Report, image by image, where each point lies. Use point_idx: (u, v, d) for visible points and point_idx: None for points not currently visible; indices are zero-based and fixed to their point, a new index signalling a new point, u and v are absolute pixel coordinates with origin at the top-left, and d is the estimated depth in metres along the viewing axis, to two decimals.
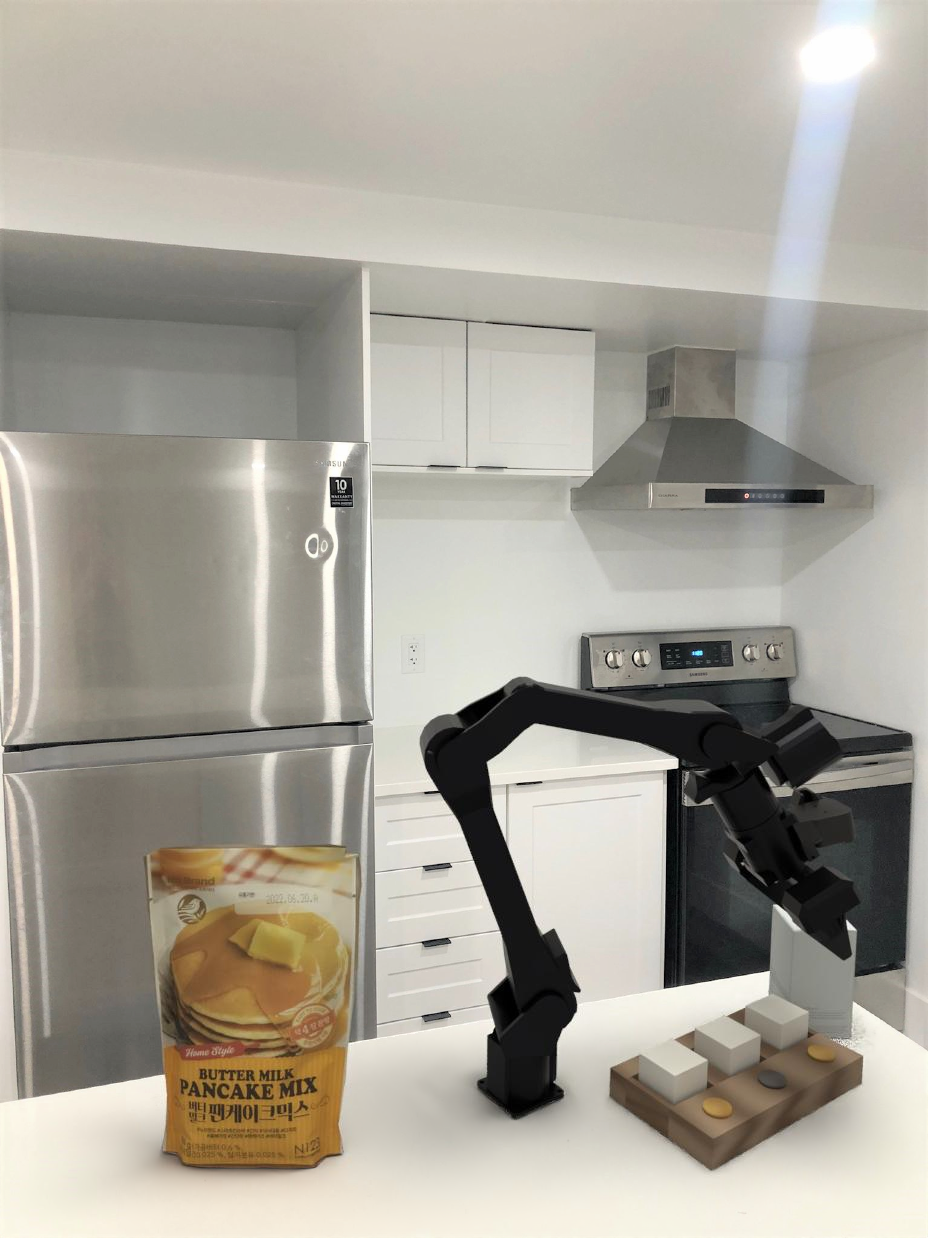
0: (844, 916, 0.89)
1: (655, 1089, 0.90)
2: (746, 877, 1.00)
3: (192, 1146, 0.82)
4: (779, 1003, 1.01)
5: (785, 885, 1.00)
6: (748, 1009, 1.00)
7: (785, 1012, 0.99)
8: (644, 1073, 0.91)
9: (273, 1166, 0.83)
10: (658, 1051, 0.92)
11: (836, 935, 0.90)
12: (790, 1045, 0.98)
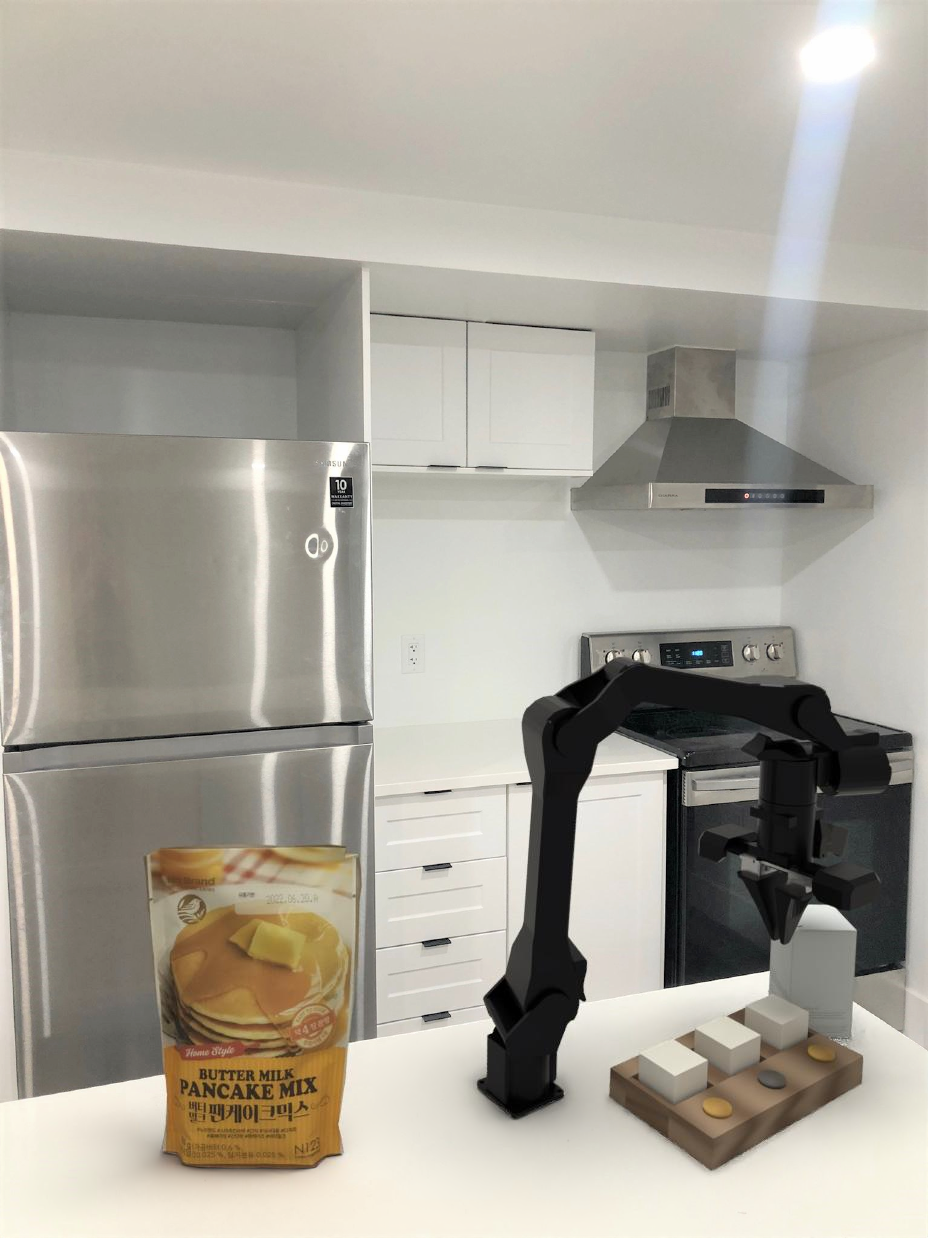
0: (810, 899, 0.98)
1: (655, 1089, 0.90)
2: (754, 879, 0.98)
3: (192, 1146, 0.82)
4: (779, 1003, 1.01)
5: None
6: (748, 1009, 1.00)
7: (785, 1012, 0.99)
8: (644, 1073, 0.91)
9: (273, 1166, 0.83)
10: (658, 1051, 0.92)
11: (795, 916, 0.98)
12: (790, 1045, 0.98)
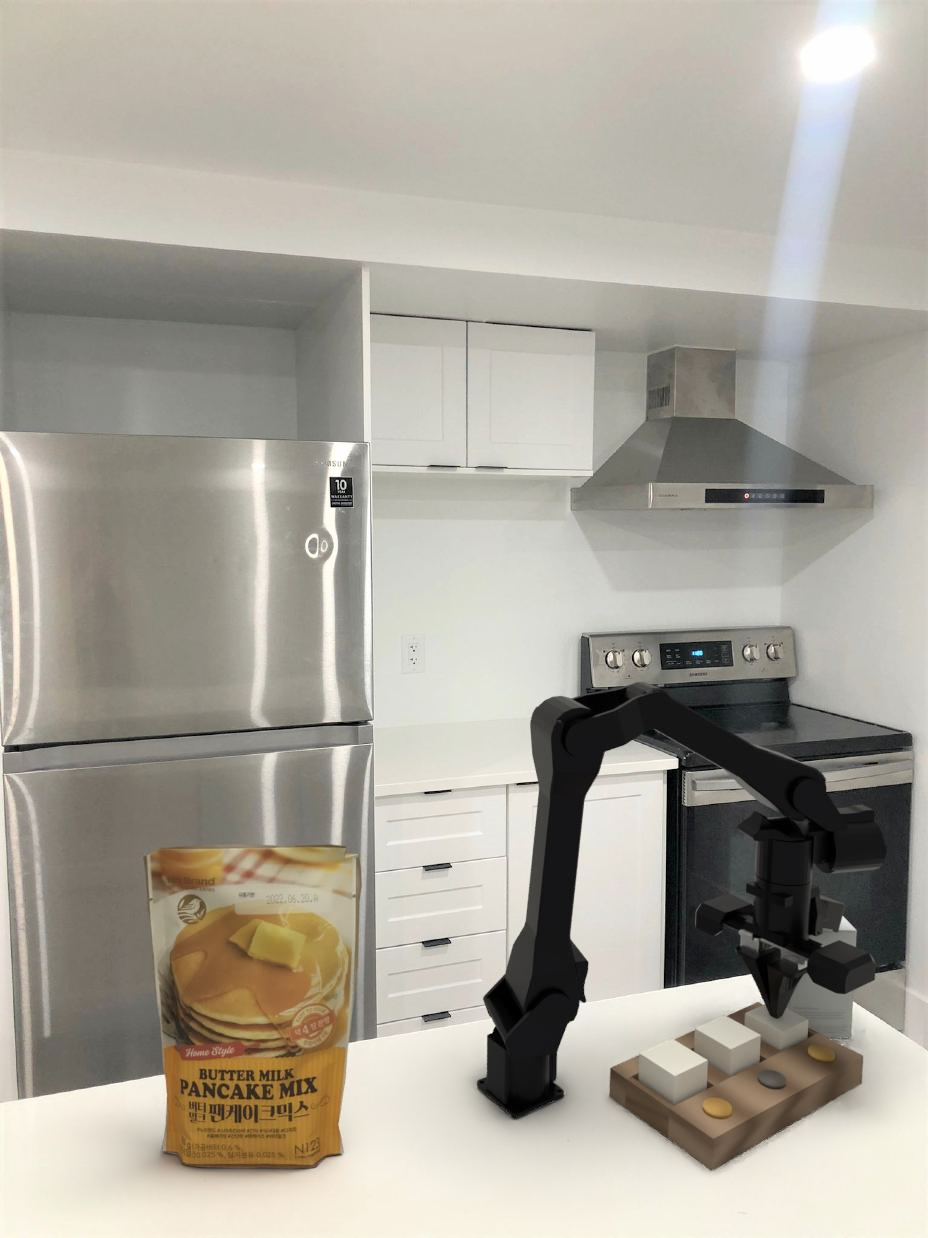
0: (802, 975, 0.99)
1: (655, 1089, 0.90)
2: (753, 957, 0.99)
3: (192, 1146, 0.82)
4: None
5: None
6: (747, 1017, 1.01)
7: (785, 1020, 0.99)
8: (644, 1073, 0.91)
9: (273, 1166, 0.83)
10: (658, 1051, 0.92)
11: (787, 991, 0.99)
12: None
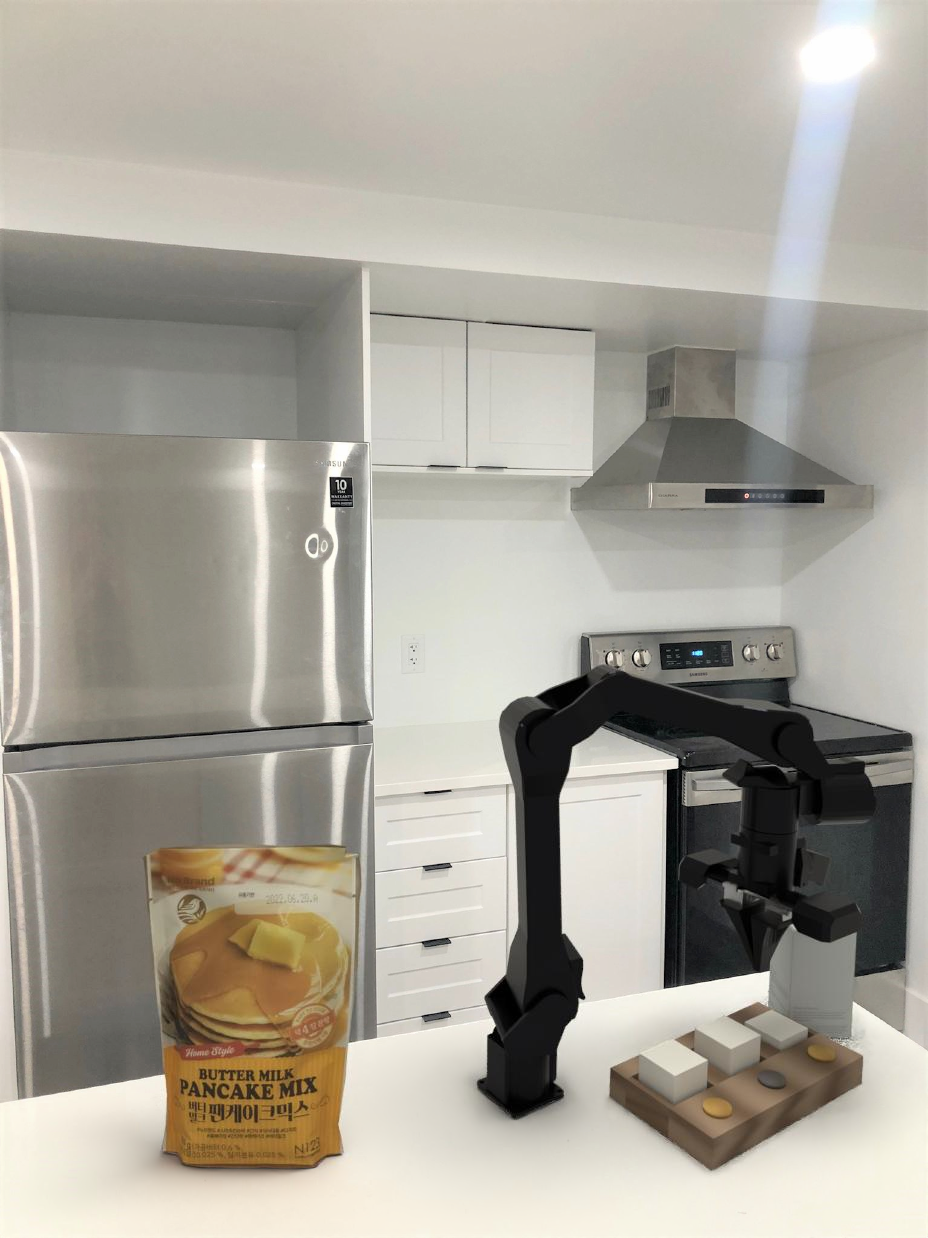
0: (787, 927, 0.97)
1: (655, 1089, 0.90)
2: (737, 908, 0.97)
3: (192, 1146, 0.82)
4: (778, 1019, 1.01)
5: None
6: (747, 1026, 1.01)
7: (784, 1029, 1.00)
8: (644, 1073, 0.91)
9: (273, 1166, 0.83)
10: (658, 1051, 0.92)
11: (771, 944, 0.97)
12: None
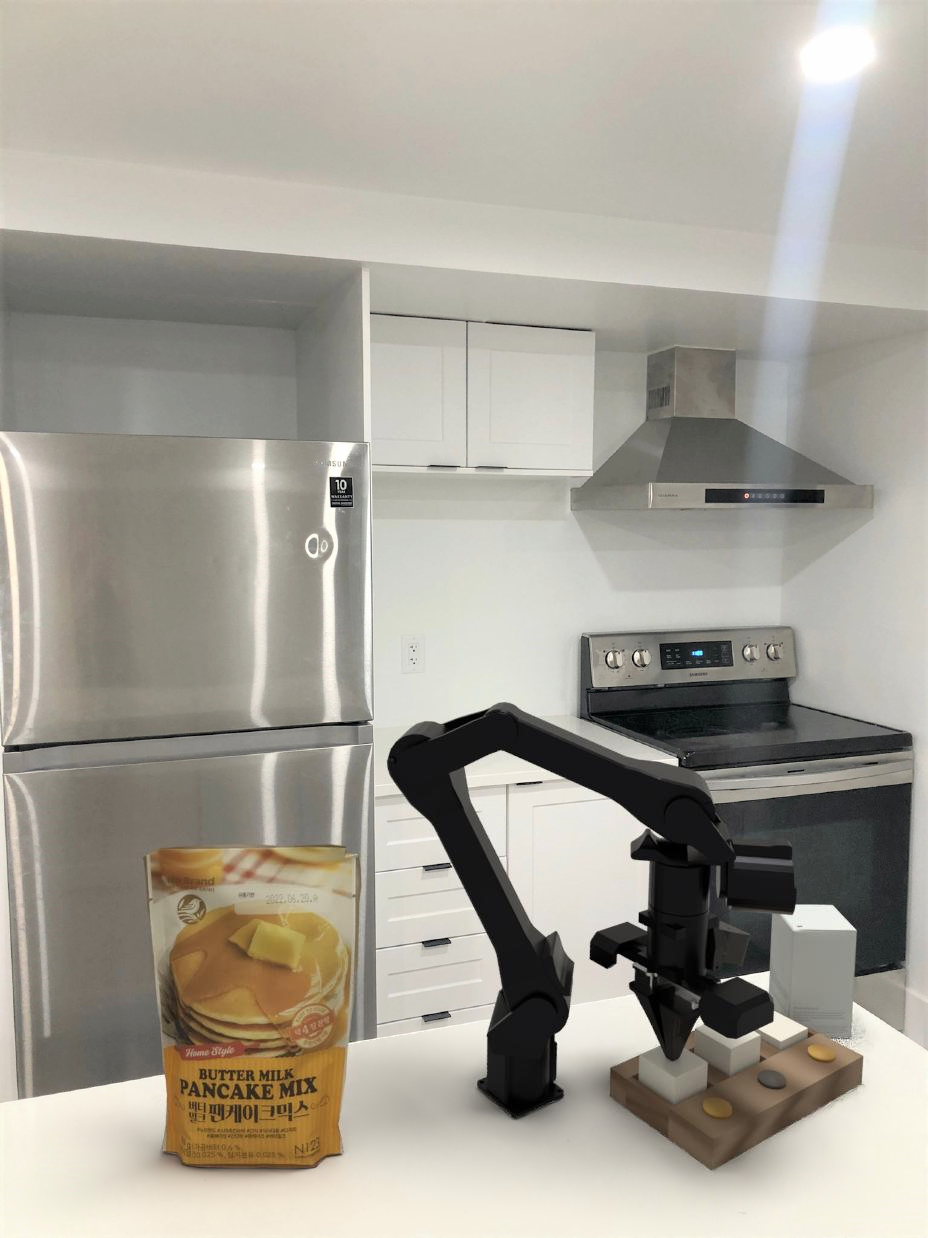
0: None
1: (655, 1091, 0.90)
2: (646, 993, 0.90)
3: (192, 1146, 0.82)
4: (778, 1019, 1.01)
5: None
6: None
7: (784, 1029, 1.00)
8: (644, 1075, 0.91)
9: (273, 1166, 0.83)
10: (658, 1053, 0.92)
11: (683, 1031, 0.90)
12: None
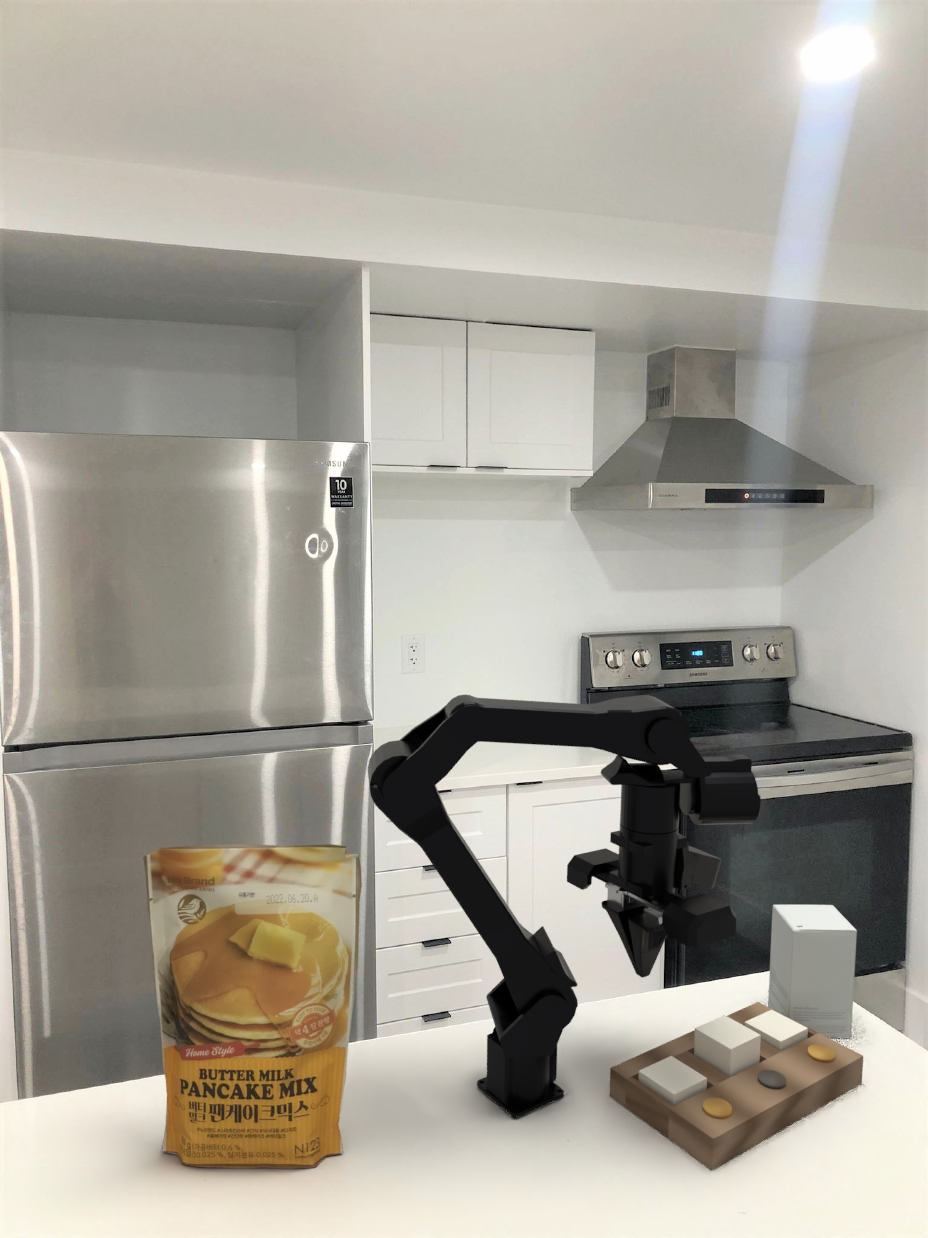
0: None
1: None
2: (617, 910, 0.93)
3: (192, 1146, 0.82)
4: (778, 1019, 1.01)
5: None
6: (747, 1026, 1.01)
7: (784, 1029, 1.00)
8: None
9: (273, 1166, 0.83)
10: (657, 1069, 0.92)
11: (652, 948, 0.93)
12: None
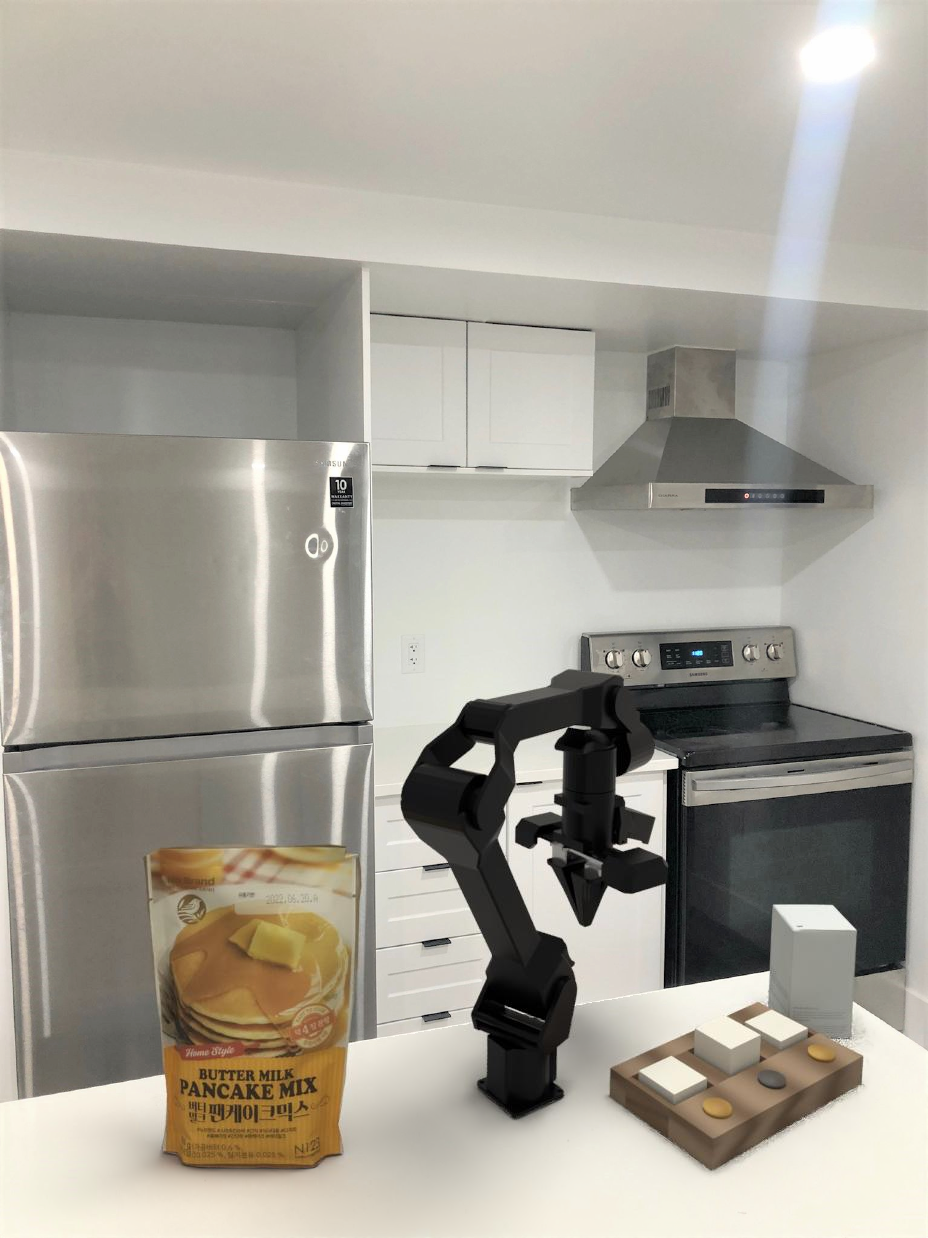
0: None
1: None
2: (560, 866, 1.01)
3: (192, 1146, 0.82)
4: (778, 1019, 1.01)
5: None
6: (747, 1026, 1.01)
7: (784, 1029, 1.00)
8: None
9: (273, 1166, 0.83)
10: (657, 1069, 0.92)
11: (594, 899, 1.01)
12: None
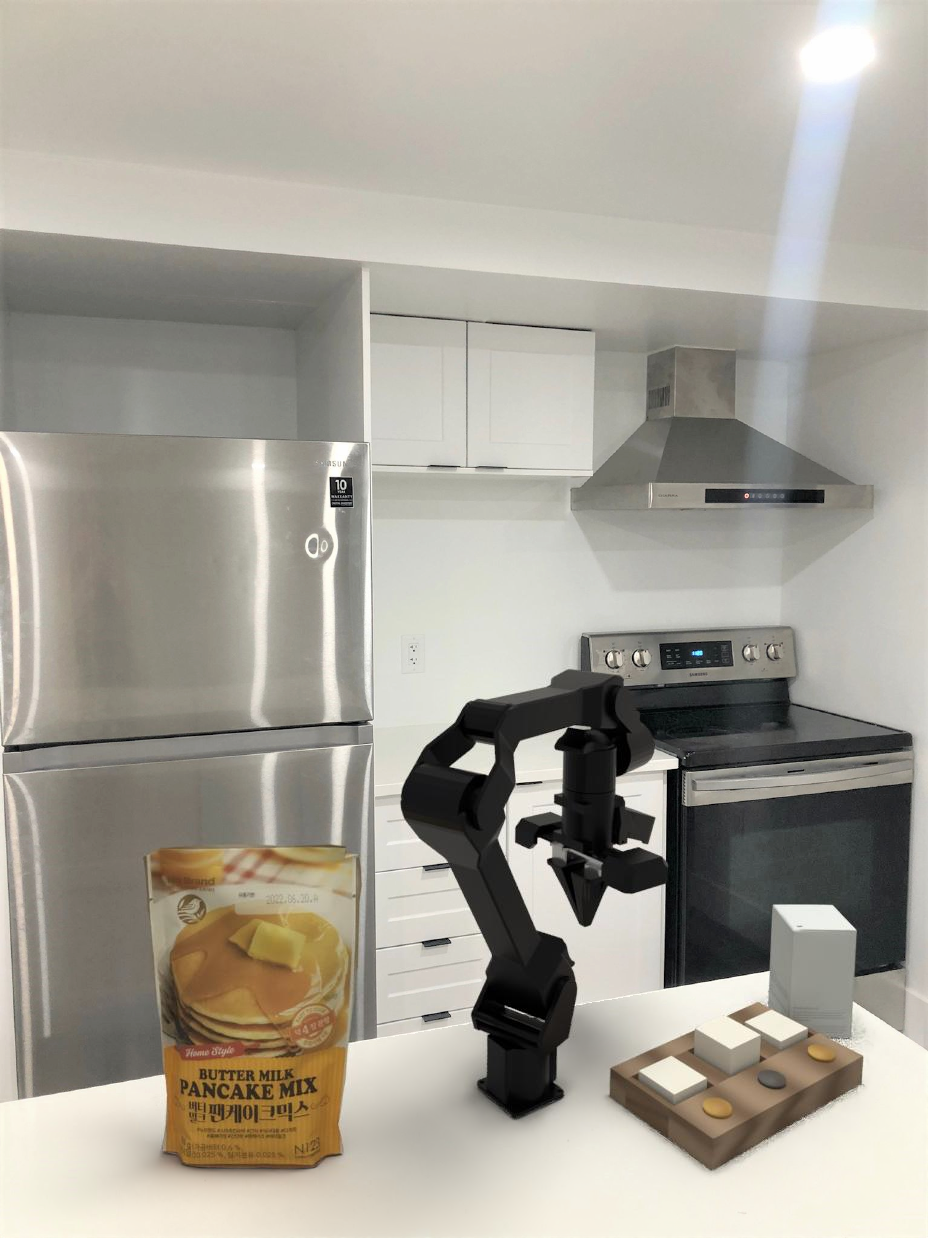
0: None
1: None
2: (560, 866, 1.01)
3: (192, 1146, 0.82)
4: (778, 1019, 1.01)
5: None
6: (747, 1026, 1.01)
7: (784, 1029, 1.00)
8: None
9: (273, 1166, 0.83)
10: (657, 1069, 0.92)
11: (593, 899, 1.01)
12: None
